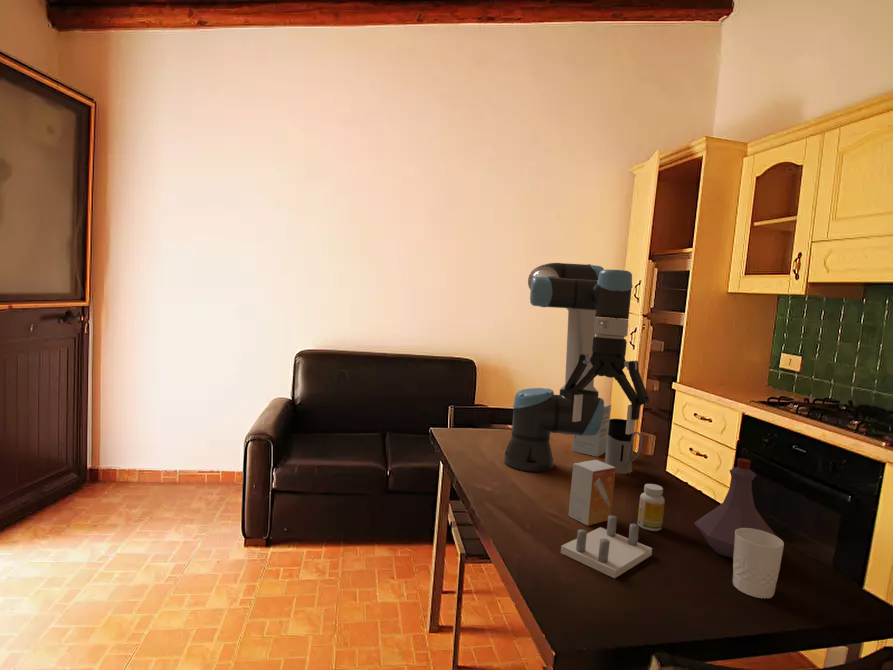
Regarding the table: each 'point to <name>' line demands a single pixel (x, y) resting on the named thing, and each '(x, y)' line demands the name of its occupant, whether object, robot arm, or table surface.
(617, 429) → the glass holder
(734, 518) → the flask
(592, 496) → the small box
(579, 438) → the supplement box
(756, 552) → the white cup
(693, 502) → the table surface
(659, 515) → the supplement bottle
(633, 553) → the pin tray
